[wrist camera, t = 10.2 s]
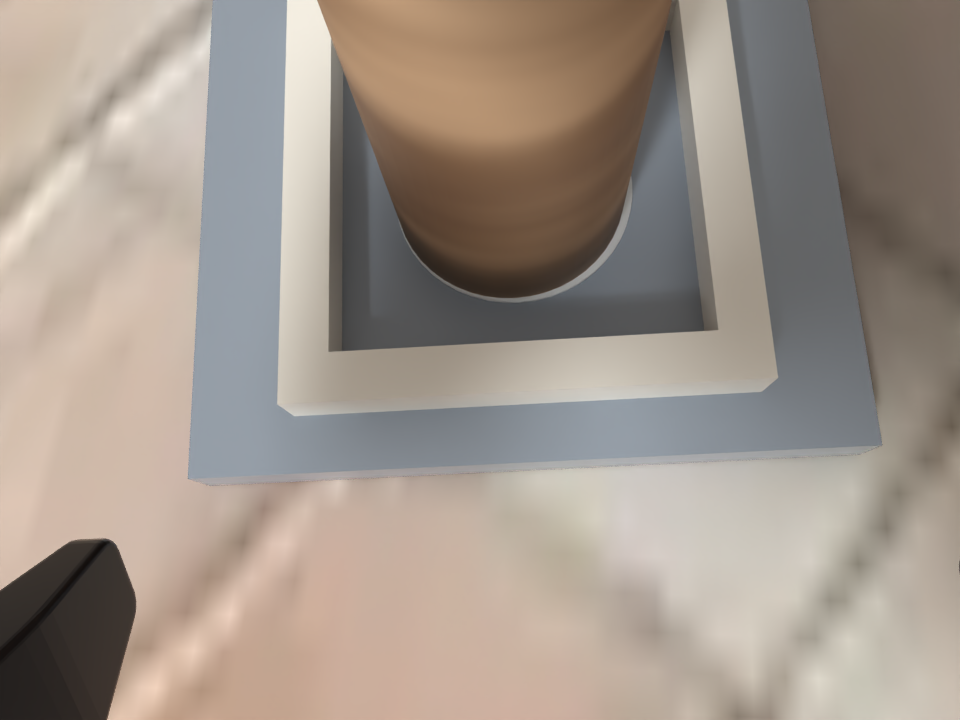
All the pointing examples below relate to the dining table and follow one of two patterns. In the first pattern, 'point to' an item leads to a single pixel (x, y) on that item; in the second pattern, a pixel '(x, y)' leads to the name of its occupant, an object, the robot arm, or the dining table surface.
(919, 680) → the dining table surface
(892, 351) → the dining table surface
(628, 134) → the walnut column
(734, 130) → the baseplate
